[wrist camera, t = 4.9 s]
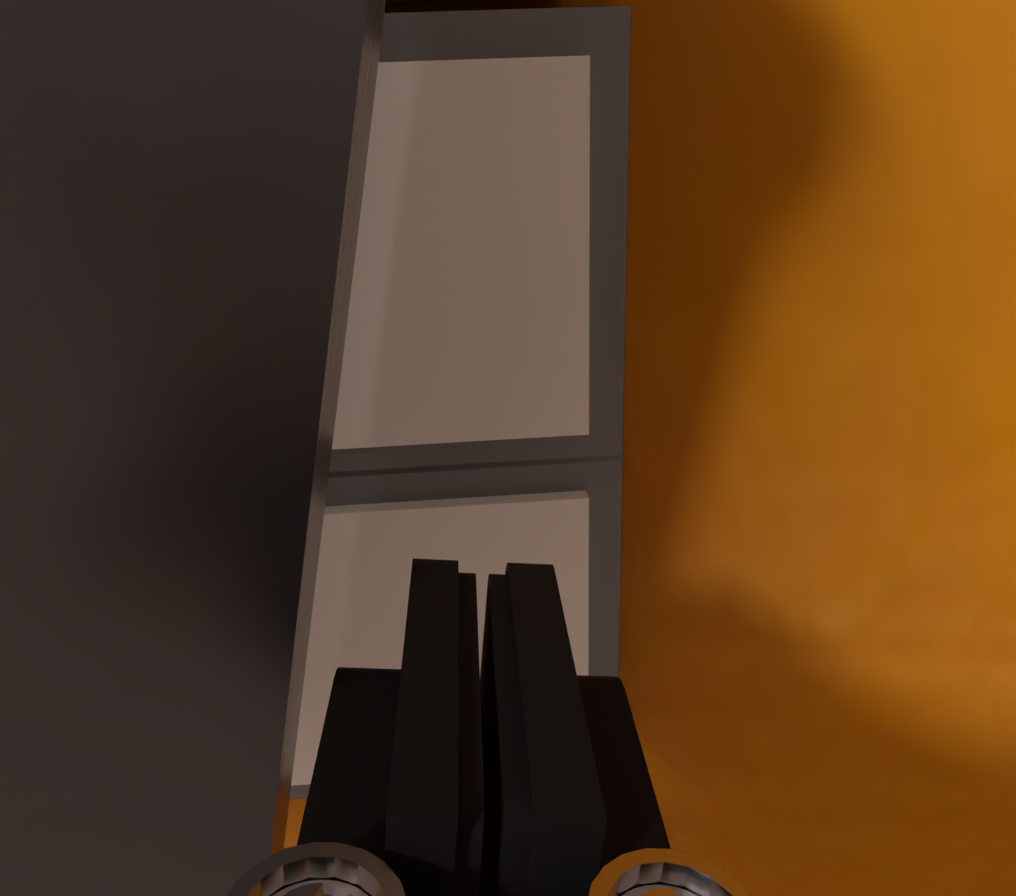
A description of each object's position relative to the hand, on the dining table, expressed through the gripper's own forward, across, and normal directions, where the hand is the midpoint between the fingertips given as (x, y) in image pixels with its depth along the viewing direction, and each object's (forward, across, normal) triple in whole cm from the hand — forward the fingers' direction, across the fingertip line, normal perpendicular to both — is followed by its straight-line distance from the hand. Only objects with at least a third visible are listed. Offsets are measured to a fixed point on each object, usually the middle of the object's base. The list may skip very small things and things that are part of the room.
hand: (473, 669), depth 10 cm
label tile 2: (+5, +2, -4) cm, 7 cm away
